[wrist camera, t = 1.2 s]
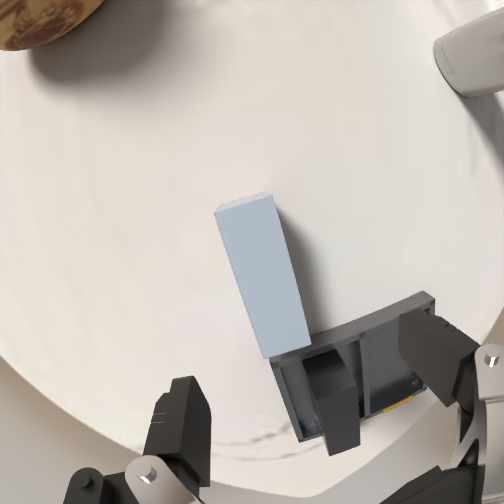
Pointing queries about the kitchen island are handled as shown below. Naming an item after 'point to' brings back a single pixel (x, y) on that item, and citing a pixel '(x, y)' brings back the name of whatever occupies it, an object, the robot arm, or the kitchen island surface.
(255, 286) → the panel
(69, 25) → the clay pot
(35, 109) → the kitchen island surface
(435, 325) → the robot arm
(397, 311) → the dark grey tray
